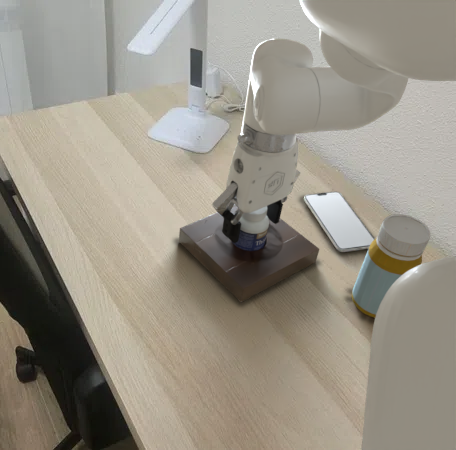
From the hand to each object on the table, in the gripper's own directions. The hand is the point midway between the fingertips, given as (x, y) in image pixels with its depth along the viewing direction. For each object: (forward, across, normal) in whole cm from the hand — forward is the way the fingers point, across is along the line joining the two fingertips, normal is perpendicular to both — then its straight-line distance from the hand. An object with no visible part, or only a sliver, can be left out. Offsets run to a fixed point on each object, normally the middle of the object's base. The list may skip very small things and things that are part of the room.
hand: (250, 227), depth 88 cm
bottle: (+6, +9, -19) cm, 22 cm away
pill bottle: (+6, 0, 0) cm, 6 cm away
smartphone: (+5, +19, -3) cm, 20 cm away
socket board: (+5, 0, 0) cm, 5 cm away
